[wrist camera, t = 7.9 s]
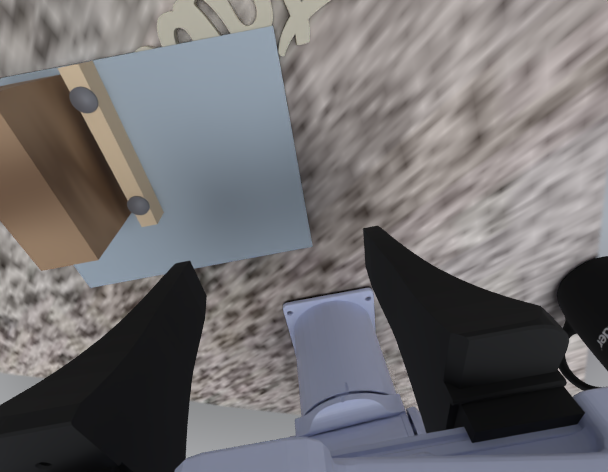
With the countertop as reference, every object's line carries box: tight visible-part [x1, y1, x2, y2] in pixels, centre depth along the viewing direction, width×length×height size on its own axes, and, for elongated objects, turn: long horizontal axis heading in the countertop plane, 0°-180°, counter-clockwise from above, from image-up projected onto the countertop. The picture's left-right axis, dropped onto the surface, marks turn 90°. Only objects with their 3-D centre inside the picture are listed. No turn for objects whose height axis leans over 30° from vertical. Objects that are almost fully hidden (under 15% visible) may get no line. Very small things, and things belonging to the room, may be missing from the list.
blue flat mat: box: [0, 25, 313, 288], centre depth 20 cm, size 14×17×3 cm
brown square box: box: [0, 74, 132, 271], centre depth 17 cm, size 8×3×6 cm, turn 9°
